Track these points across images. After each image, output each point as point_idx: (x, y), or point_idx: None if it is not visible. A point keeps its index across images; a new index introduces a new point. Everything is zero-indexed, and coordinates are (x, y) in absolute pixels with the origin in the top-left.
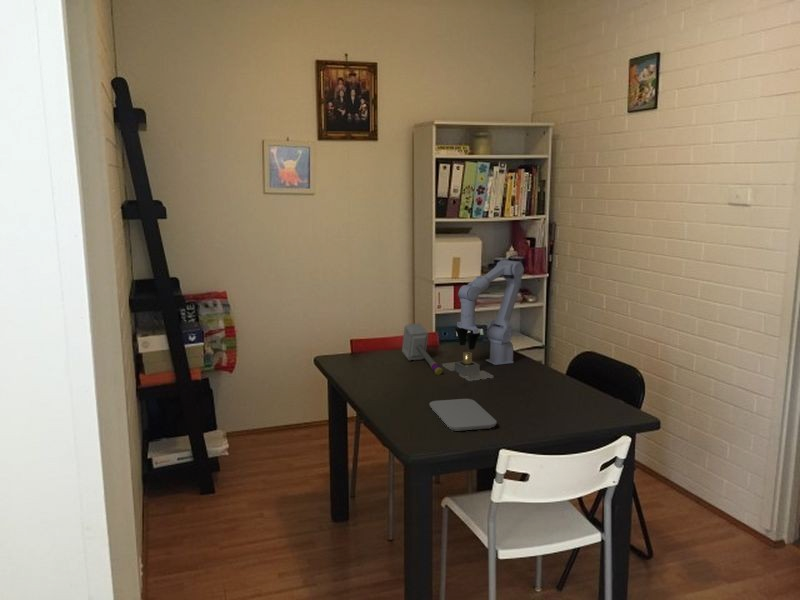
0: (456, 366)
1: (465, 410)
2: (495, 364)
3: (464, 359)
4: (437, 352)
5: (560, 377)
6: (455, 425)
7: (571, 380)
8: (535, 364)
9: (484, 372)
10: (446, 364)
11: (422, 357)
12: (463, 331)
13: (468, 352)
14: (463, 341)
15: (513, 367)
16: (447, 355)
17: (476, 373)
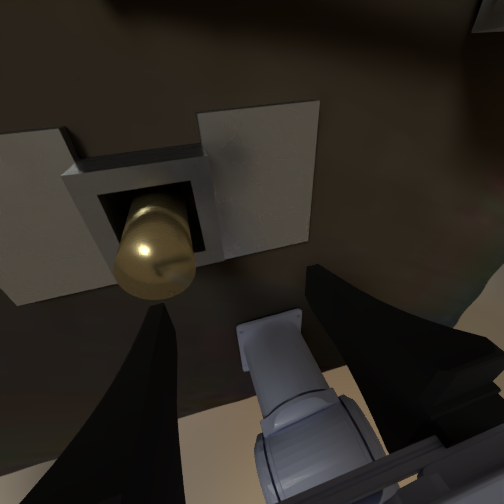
0: (180, 153)
1: None
2: (236, 328)
3: (136, 219)
4: (490, 171)
5: (64, 448)
6: None
7: (28, 466)
8: (216, 403)
9: (86, 278)
10: (292, 121)
11: (486, 5)
12: (386, 392)
13: (167, 279)
14: (321, 305)
15: (198, 365)
16: (433, 197)
17: (60, 237)
